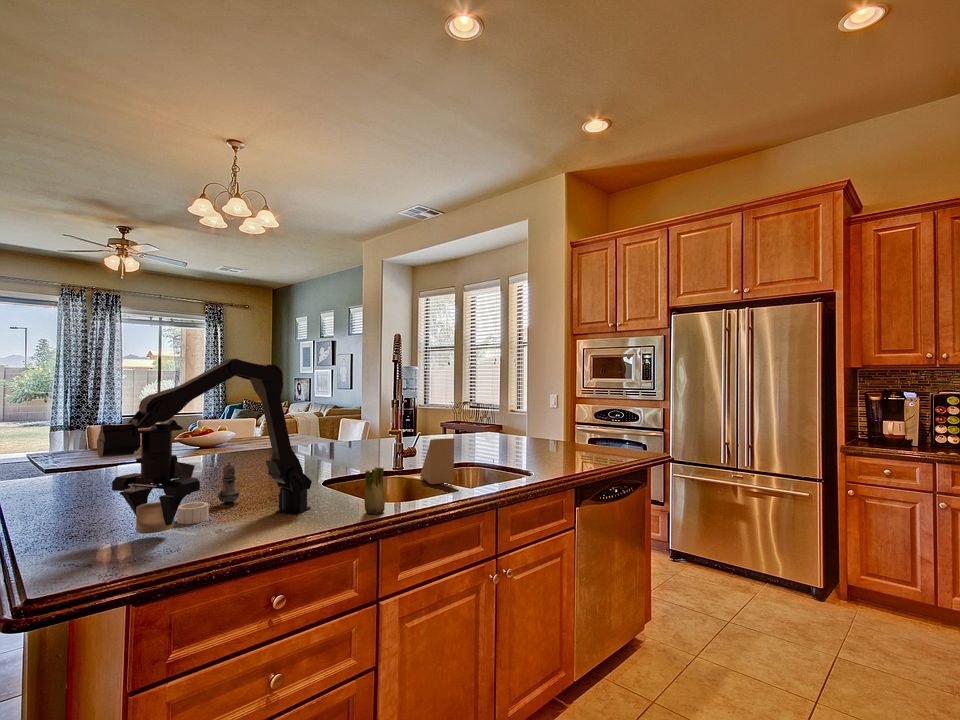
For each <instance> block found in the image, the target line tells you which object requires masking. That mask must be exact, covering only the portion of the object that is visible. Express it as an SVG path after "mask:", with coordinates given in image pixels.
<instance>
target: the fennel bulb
mask: <svg viewBox="0 0 960 720" xmlns="http://www.w3.org/2000/svg"><path fill="white" fill-rule="evenodd" d="M384 470H385V469H384V467H378V466H377V467H376V466H375V467H374V468H372V469H371V471H370V470H365V471H364V473H365V474H364V475H365V490H364V491H365V492H364V510H365V513H366V514H368V515H378V514H377V513H380V514H383V512H384V511H385V508H386V507H385V506H386V505H385V504H386V498H385V497H386V496H385V488H384Z"/></svg>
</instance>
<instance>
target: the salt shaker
mask: <svg viewBox="0 0 960 720" xmlns="http://www.w3.org/2000/svg"><path fill="white" fill-rule="evenodd" d="M235 471H236V468H235V466H234V465H232V464H231V462H229V461H228V463H227V465H226V466H224V467H223V471H222V472H223V473H222V474H223V477H222V478H221V480H222V488H221V491H218V492H217V493H216V495H217V497H218V500H219V501H220V502H221V503H219V505H218V506H219V507H222V508H223V507H226V508H227V507H235V506H238V505H239V504H240V503H239V502H237V499H239V496H240V493H241V490H240V489H239V490H238V489H236V479H237V477H235V473H236V472H235Z"/></svg>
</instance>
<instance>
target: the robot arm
mask: <svg viewBox="0 0 960 720" xmlns="http://www.w3.org/2000/svg"><path fill="white" fill-rule="evenodd" d="M283 375H284V374H283V370H282V369H281V367H279V366H277V365H276V364H258V363H254V362H250V361H246V360H242V359H239V358H226V359H225V360H223V361H222V362H221V363H219V364H218V365H215V366H214V367H212V368H210V369H208V370H206V371H204V372H202V373H200V374H199V375H197V376H194V377H193V378H192V379H190V380H188V381H185V382H184V383H182V384H179V385H177V386H174V387H173V388H172V387H171V388H169V389H165V390H161V391H158V392H156V393H153V394H149V395H147V396H145V397H144V398H142V399H141V401H140V402H139V404H138V405H139V406H138V410H137V412H136V413H134V415H133V416H132V417H131V418H130V420H129V421H128V422H127V423H120V424H119V423H118V424H109V423H107V424H106V423H105V424H101V425H100V431H99V433H98V438H97V439H96V450H97V456H98V458H99V459H105V458H113V457H114V458H115V457H124V456H125V457H126V456H132V455H134V454H135V452H137V451H138V450H139V449H140V457H137V458H135V464H140V473H137V472H133V473H129V474H124V475H120V476H119V475H118V476H116V477H115V478H114V479H113V480H112V482H111V491H114V492H119V495H120V496H122V497H123V498H124V500H125V501H126V503H127V504H128V505H129V507H130V509H131V510H132V512H133V514H134V515H135V516H136V507H137V506H139V505H142V504H146V503H148V500H149V499H148V498H149V495H150V493H151V492H152V491H153V489H157V490H158V489H159V490H163V493H164V495H159V497H158V498H159V501H160V503H161V508H162V512H163V517H164V521H165V524H166V526H168V525H171V524H172V522H173V519H174V520H175V517H176V515H177V509H178V507H179V505H181V503H182V501H183V500H184V498H185V497H186V496H188V495H191V493H192V494H193V493H195V492H200V491H201V480H200V479H198V477H193V474H194V469H195V466H196V465H194V464H190V463H187V462H186V463H185V462H182V461H181V462H180V461H179V460H178V456H177V455H176V454H173V431H182V430H184V427H183V426H181V425H180V424H179V423H178V422H177V420H175V419H172V418H173V417H175V416H176V415H177V414H179V413H180V412H181V411H182V410H183V409H184V408H185V407H186V406H187V405H188V404H189V403H190V402H192V401H193V400H194V399H196V398H198V397H200V396H201V395H203V394H205V393H206V392H209V391H211V390H212V389H214V388H216V387H217V386H219V385H221V384H223V383H225V382H227V381H228V380H230V379H232V378H234V377H237V378H241V379H244V380H248V381H250V383H251V385H252V388H253V390H254V392H255V393H256V395H257V396H258V398H259V399H260V401H261V404H262V410H263V414H264V419H265V423H266V427H267V428H266V429H267V433H268V437H269V441H270V445H271V446H270V447H271V451H272V454H271V457H270V459H267V460H265V463H266V466H267V468H268V469H267V470H268V472H267V475H268V476H270V477H271V479H272V480H274V481H275V482H276V485H277V487H278V488H279V493H278V510H276V511H275V514H282V515H283V514H284V515H293V516H295V515H299V514H301V513H304V512H307V511H308V510H311V506H308V490H310V489H311V485H312V483H313V481H312V480H311V478H309V476H307V475H306V473H304V469H303V467H302V464H301V462H300V459H299V457H298V456H297V455H296V454H295V451H294V450H293V449H292V448H293V447H292V445H291V439H290V436H289V430H288V426H287V425H288V424H287V421H286V417H285V411H284V406H283V403H282V393H283V388H284V376H283ZM164 422H165V423H164ZM140 447H141V448H140Z"/></svg>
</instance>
